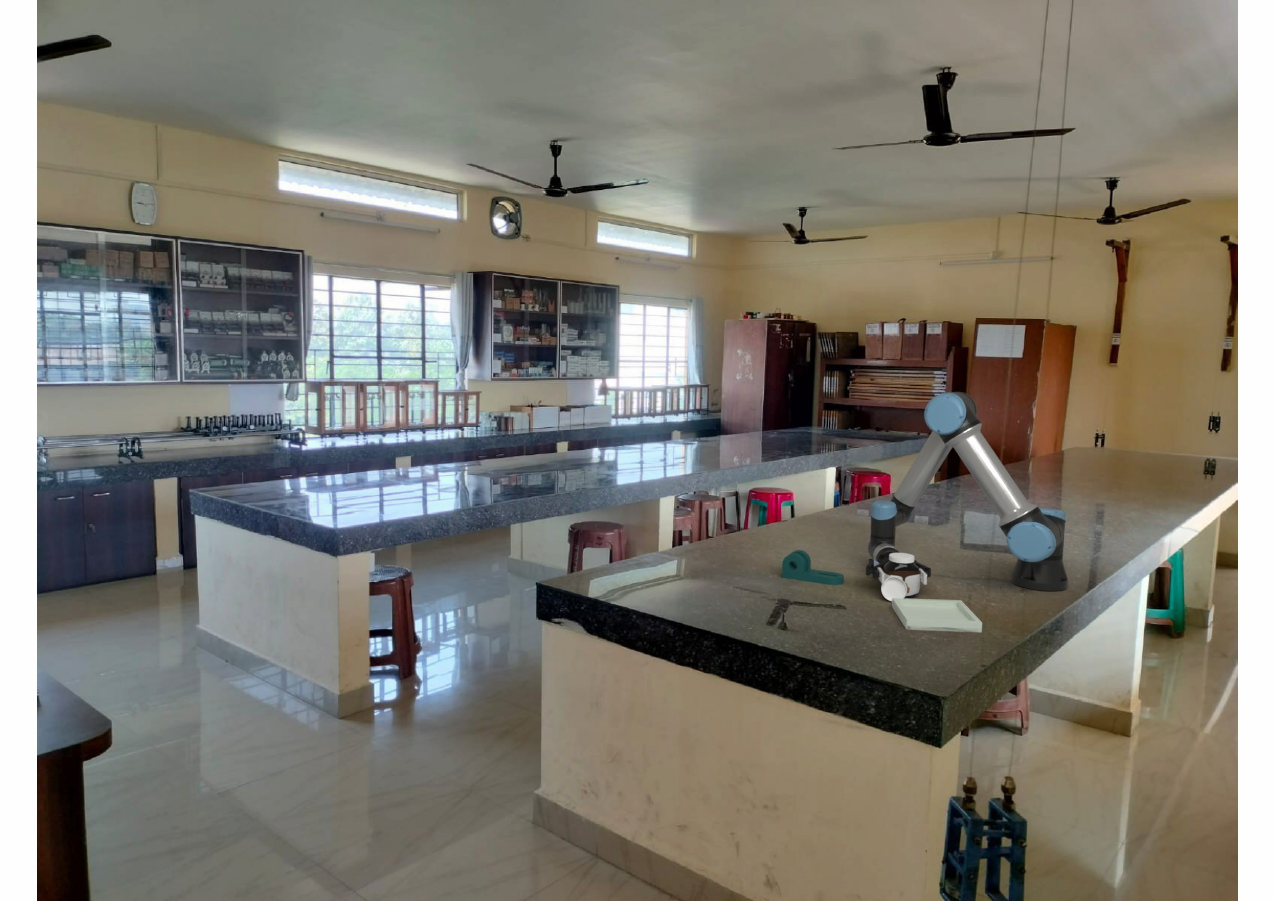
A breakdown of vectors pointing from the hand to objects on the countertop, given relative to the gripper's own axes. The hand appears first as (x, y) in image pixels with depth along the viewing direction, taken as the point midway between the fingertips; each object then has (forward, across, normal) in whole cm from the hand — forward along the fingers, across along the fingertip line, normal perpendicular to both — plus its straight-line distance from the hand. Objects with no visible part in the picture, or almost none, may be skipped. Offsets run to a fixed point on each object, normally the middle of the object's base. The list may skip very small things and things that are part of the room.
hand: (904, 579), depth 219 cm
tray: (+14, -5, -6) cm, 16 cm away
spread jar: (-4, 0, -7) cm, 8 cm away
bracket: (-20, +22, -7) cm, 31 cm away
